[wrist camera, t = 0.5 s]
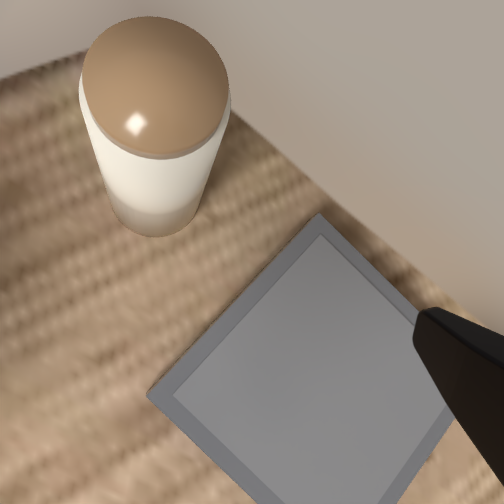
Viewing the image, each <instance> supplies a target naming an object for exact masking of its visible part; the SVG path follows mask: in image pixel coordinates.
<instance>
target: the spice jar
mask: <svg viewBox="0 0 504 504" xmlns="http://www.w3.org/2000/svg"><path fill="white" fill-rule="evenodd" d="M79 101H80V106H81V110H82V113H83V117H84V120H85V123H86V126H87V129H88V133H89V136H90V139H91V142H92V145H93V149H94V152H95V155H96V158H97V162H98V165H99V168H100V171H101V174H102V178H103V181H104V184H105V187H106V190H107V194H108V197H109V200H110V203H111V206H112V209H113V211H114V213H115V215H116V217H117V218H118V220H119V221H120V222H121V223H122V224H123V225H124V226H125V227H127V228H128V229H130V230H131V231H133V232H135V233H137V234H140V235H143V236H148V237H164V236H168V235H171V234H174V233H176V232H178V231H180V230H181V229H183V228H184V227H185V226H186V225H187V224H188V223H189V222H190V221H191V220H192V218H193V217H194V215H195V213H196V211H197V208H198V205H199V202H200V200H201V197H202V194H203V191H204V188H205V185H206V183H207V180H208V177H209V174H210V171H211V168H212V166H213V163H214V160H215V157H216V154H217V151H218V149H219V146H220V143H221V140H222V137H223V134H224V132H225V129H226V126H227V123H228V120H229V116H230V111H231V97H230V90H229V84H228V77H227V72H226V69H225V67H224V64H223V62H222V60H221V58H220V56H219V54H218V53H217V51H216V50H215V48H214V47H213V46H212V45H211V44H210V43H209V42H208V41H207V40H206V39H205V38H204V37H203V36H202V35H200V34H199V33H198V32H196V31H195V30H194V29H192V28H190V27H188V26H186V25H184V24H182V23H179V22H177V21H174V20H170V19H167V18H161V17H137V18H131V19H128V20H124V21H121V22H119V23H118V24H115V25H113V26H111V27H110V28H108V29H107V30H105V31H104V32H103V33H102V34H101V35H99V36H98V38H97V39H96V40H95V41H94V42H93V44H92V45H91V47H90V48H89V50H88V52H87V55H86V57H85V60H84V64H83V70H82V74H81V78H80V83H79Z"/></svg>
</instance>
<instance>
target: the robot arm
mask: <svg viewBox="0 0 504 504" xmlns="http://www.w3.org/2000/svg"><path fill="white" fill-rule="evenodd" d="M412 341H413V345H414V348H415V350H416V352H417V353H418V355H419V357H420V359H421V360H422V362H423V364H424V366H425V368H426V369H427V371H428V373H429V375H430V376H431V378H432V380H433V382H434V384H435V385H436V387H437V389H438V391H439V392H440V394H441V396H442V398H443V399H444V401H445V403H446V404H447V406H448V407H449V409H450V410H451V412H452V413H453V415H454V416H455V418H456V419H457V421H458V422H459V424H460V425H461V426H462V428H463V429H464V431H465V432H466V434H467V435H468V436H469V438H470V439H471V441H472V442H473V444H474V445H475V446H476V448H477V449H478V451H479V452H480V454H481V455H482V456H483V458H484V459H485V461H486V462H487V464H488V465H489V466H490V468H491V469H492V471H493V472H494V473H495V475H496V476H497V478H498V479H499V481H500V482H501V483H502V485H503V486H504V336H503V335H500V334H498V333H496V332H494V331H491V330H489V329H487V328H485V327H482V326H480V325H478V324H476V323H473V322H471V321H469V320H466V319H464V318H462V317H460V316H457V315H455V314H453V313H451V312H448V311H446V310H444V309H442V308H439V307H432V308H428V309H424V310H421V311H420V312H419V313H418V315H417V319H416V323H415V327H414V331H413V335H412Z"/></svg>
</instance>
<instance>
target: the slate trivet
mask: <svg viewBox="0 0 504 504" xmlns="http://www.w3.org/2000/svg"><path fill="white" fill-rule="evenodd" d="M418 313H419V311H418V310H417V309H416V308H415V307H414V306H413V305H412V304H411V303H410V302H409V301H408V300H407V299H406V298H405V297H404V296H403V295H402V294H401V293H400V292H399V291H398V290H397V289H396V288H395V287H394V286H392V285H391V284H390V283H389V282H388V281H387V280H386V279H385V278H384V277H383V276H382V275H381V274H380V273H379V272H378V271H377V270H376V269H375V268H374V267H373V266H372V265H371V264H370V263H369V262H368V261H367V260H366V259H365V258H364V257H363V256H362V255H361V254H360V253H359V252H358V251H357V250H356V249H355V248H354V247H353V246H352V245H351V244H350V243H349V242H348V241H347V240H346V239H345V238H344V237H343V236H342V235H341V234H340V233H339V232H338V231H337V230H336V229H335V228H334V227H333V226H332V225H331V224H330V223H329V222H328V221H327V220H326V219H325V218H324V217H323V216H322V215H321V214H320V213H317V214H316V215H315V216H313V217H312V218H311V219H310V220H309V221H308V222H307V223H306V224H305V225H304V226H303V227H302V228H301V229H300V230H299V232H298V233H297V234H296V235H295V236H294V237H293V238H292V239H291V240H290V241H289V242H288V243H287V244H286V245H285V246H284V247H283V249H282V250H281V251H280V252H279V253H278V254H277V255H276V256H275V257H274V258H273V259H272V260H271V261H270V262H269V263H268V264H267V265H266V267H265V268H264V269H263V270H262V271H261V272H260V273H259V274H258V275H257V276H256V277H255V278H254V279H253V280H252V281H251V282H250V284H249V285H248V286H247V287H246V288H245V289H244V290H243V291H242V292H241V293H240V294H239V295H238V296H237V297H236V298H235V299H234V301H233V302H232V303H231V304H230V305H229V306H228V307H227V308H226V309H225V310H224V311H223V312H222V313H221V314H220V315H219V316H218V317H217V319H216V320H215V321H214V322H213V323H212V324H211V325H210V326H209V327H208V328H207V329H206V330H205V331H204V332H203V333H202V334H201V336H200V337H199V338H198V339H197V340H196V341H195V342H194V343H193V344H192V345H191V346H190V347H189V348H188V349H187V350H186V351H185V353H184V354H183V355H182V356H181V357H180V358H179V359H178V360H177V361H176V362H175V363H174V364H173V365H172V366H171V367H170V368H169V369H168V371H167V372H166V373H165V374H164V375H163V376H162V377H161V378H160V379H159V380H158V381H157V382H156V383H155V384H154V385H153V386H152V388H151V389H150V390H149V391H148V392H147V393H146V397H147V398H148V399H149V400H150V401H151V402H152V403H153V404H154V405H155V406H156V407H158V408H159V409H160V410H161V411H162V412H163V413H164V414H165V415H166V416H167V417H168V418H169V419H170V420H171V421H172V422H173V423H174V424H175V425H176V426H177V427H178V428H179V429H180V430H181V431H182V432H184V433H185V434H186V435H187V436H188V437H189V438H190V439H191V440H192V441H193V442H194V443H195V444H196V445H197V446H198V447H199V448H200V449H201V450H202V451H203V452H204V453H205V454H206V455H207V456H208V457H210V458H211V459H212V460H213V461H214V462H215V463H216V464H217V465H218V466H219V467H220V468H221V469H222V470H223V471H224V472H225V473H226V474H227V475H228V476H229V477H230V478H231V479H232V480H233V481H235V482H236V483H237V484H238V485H239V486H240V487H241V488H242V489H243V490H244V491H245V492H246V493H247V494H248V495H249V496H250V497H251V498H252V499H253V500H254V501H255V502H256V503H257V504H397V502H398V501H399V499H400V498H401V496H402V495H403V493H404V492H405V490H406V489H407V487H408V486H409V485H410V483H411V482H412V480H413V479H414V477H415V476H416V474H417V473H418V471H419V470H420V468H421V467H422V466H423V464H424V463H425V461H426V460H427V458H428V457H429V455H430V454H431V452H432V451H433V449H434V448H435V447H436V445H437V444H438V442H439V441H440V439H441V438H442V436H443V435H444V433H445V432H446V430H447V429H448V428H449V426H450V425H451V423H452V422H453V420H454V419H455V416H454V415H453V413H452V412H451V410H450V409H449V407H448V406H447V404H446V403H445V401H444V399H443V398H442V396H441V394H440V392H439V391H438V389H437V387H436V385H435V384H434V382H433V380H432V378H431V376H430V375H429V373H428V371H427V369H426V368H425V366H424V364H423V362H422V360H421V359H420V357H419V355H418V353H417V352H416V350H415V348H414V345H413V341H412V335H413V331H414V327H415V323H416V319H417V315H418Z"/></svg>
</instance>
